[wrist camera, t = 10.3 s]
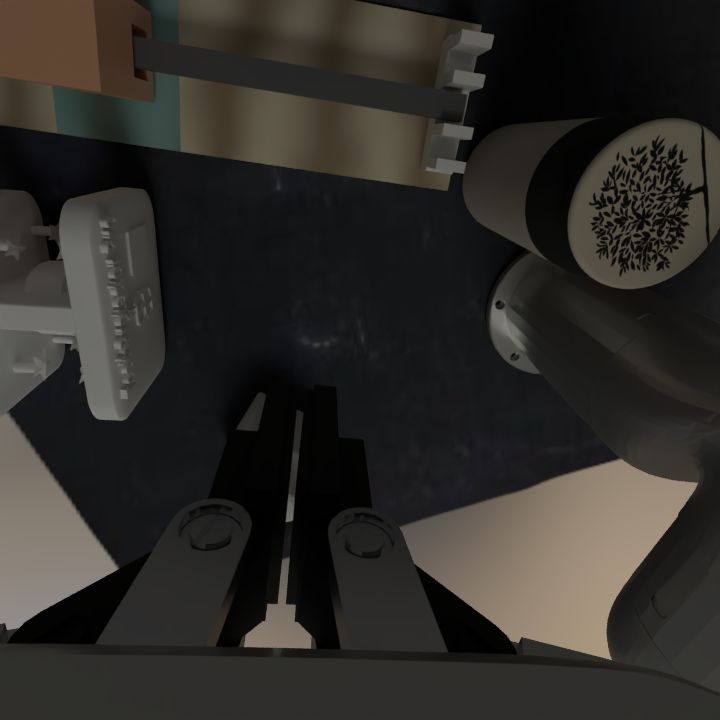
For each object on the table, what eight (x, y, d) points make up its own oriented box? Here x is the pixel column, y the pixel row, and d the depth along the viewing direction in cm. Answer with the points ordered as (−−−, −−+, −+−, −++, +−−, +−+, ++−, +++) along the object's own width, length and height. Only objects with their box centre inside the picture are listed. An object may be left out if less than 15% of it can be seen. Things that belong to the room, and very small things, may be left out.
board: (480, 26, 33) (482, 24, 32) (446, 190, 37) (447, 191, 37) (-31, -73, 29) (-36, -76, 28) (1, 124, 33) (-3, 124, 33)
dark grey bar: (461, 96, 32) (467, 94, 31) (456, 122, 33) (462, 121, 31) (-9, 14, 29) (-27, 8, 27) (-5, 45, 29) (-22, 40, 28)
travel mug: (467, 240, 39) (568, 311, 23) (454, 138, 36) (562, 138, 20) (561, 217, 39) (729, 272, 23) (556, 112, 36) (751, 89, 19)
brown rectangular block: (150, 13, 30) (91, -31, 23) (154, 103, 32) (100, 92, 25) (68, -2, 30) (-22, -52, 22) (77, 91, 32) (-2, 75, 24)
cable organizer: (15, 173, 35) (-118, 188, 24) (161, 186, 36) (94, 206, 25) (52, 355, 41) (-41, 429, 31) (175, 361, 42) (127, 435, 32)
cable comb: (468, 47, 33) (495, 30, 28) (443, 172, 37) (463, 177, 32) (441, 41, 33) (463, 24, 28) (419, 168, 37) (434, 173, 31)
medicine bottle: (289, 472, 48) (279, 568, 38) (226, 443, 46) (196, 536, 36) (324, 421, 46) (325, 508, 35) (259, 389, 44) (238, 471, 33)
